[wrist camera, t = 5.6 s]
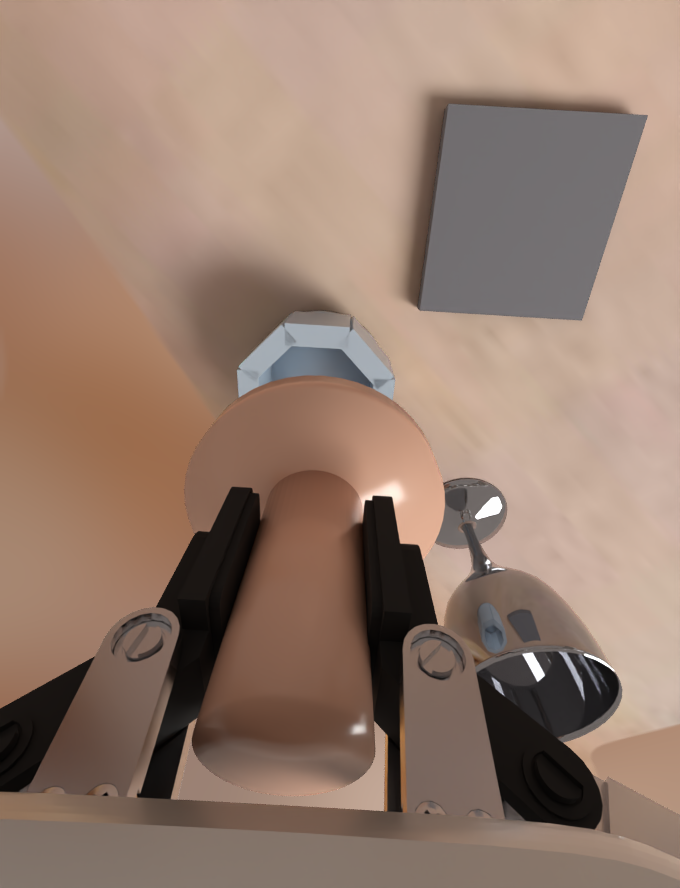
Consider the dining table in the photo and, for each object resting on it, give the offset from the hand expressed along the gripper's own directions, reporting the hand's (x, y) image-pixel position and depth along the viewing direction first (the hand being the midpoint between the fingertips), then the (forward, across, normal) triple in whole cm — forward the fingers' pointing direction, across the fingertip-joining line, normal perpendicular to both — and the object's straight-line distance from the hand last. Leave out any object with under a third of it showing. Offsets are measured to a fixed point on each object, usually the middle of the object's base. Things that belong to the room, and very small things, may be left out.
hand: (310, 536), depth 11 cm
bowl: (+18, +1, +1) cm, 18 cm away
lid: (+2, 0, 0) cm, 2 cm away
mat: (+18, -10, -9) cm, 22 cm away
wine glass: (+18, -11, +12) cm, 24 cm away
